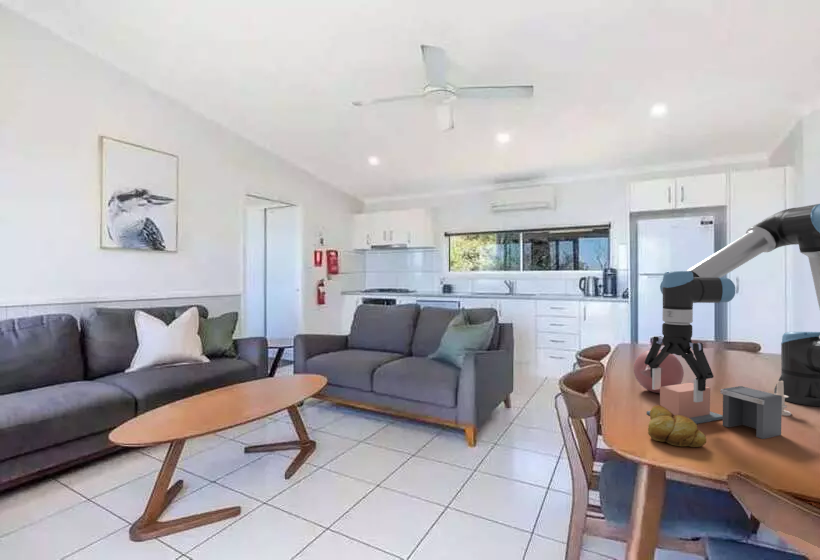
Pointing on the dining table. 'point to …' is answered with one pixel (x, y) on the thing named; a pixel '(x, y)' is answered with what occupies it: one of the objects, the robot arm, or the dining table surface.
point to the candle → (781, 392)
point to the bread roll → (674, 428)
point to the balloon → (669, 371)
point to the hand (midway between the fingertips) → (676, 395)
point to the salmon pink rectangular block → (684, 400)
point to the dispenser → (752, 410)
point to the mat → (704, 417)
